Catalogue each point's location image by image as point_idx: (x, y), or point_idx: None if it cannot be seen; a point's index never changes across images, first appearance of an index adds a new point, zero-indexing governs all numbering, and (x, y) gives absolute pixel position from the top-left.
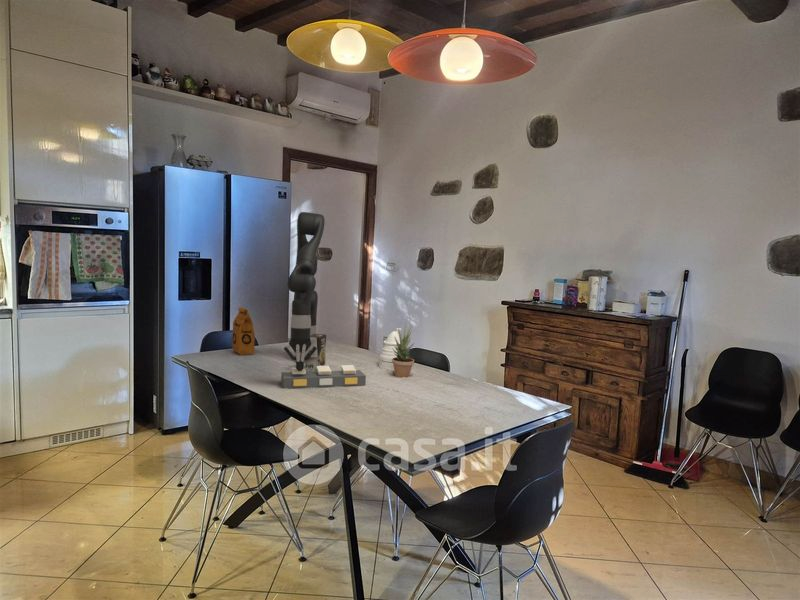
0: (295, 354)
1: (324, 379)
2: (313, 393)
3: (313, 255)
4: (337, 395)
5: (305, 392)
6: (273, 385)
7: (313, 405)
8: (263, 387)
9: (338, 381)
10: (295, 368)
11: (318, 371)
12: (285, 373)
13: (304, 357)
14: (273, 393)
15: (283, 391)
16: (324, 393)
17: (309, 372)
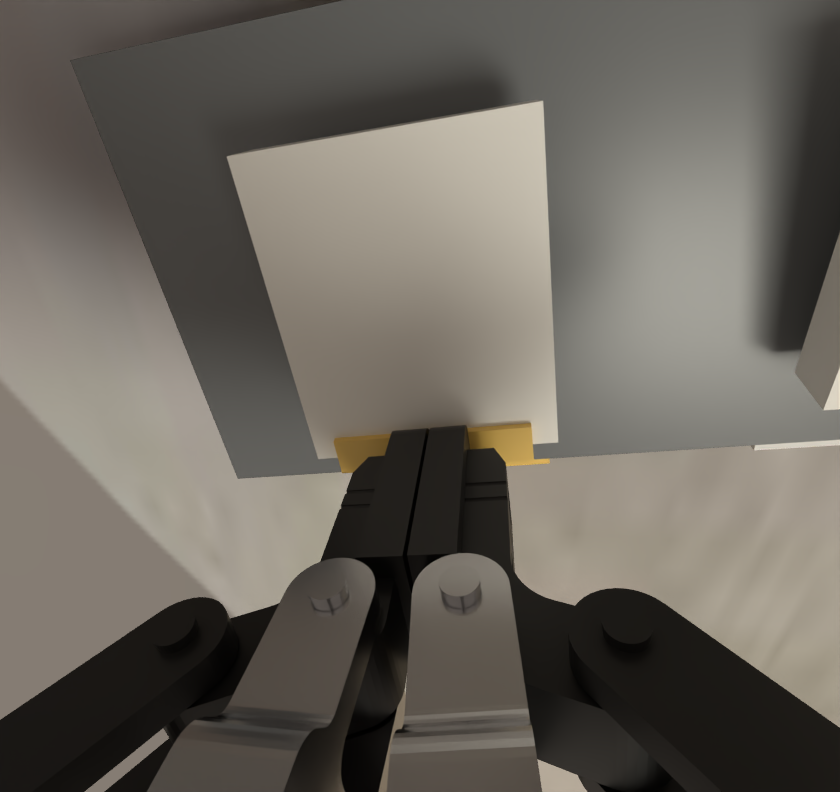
0: (212, 736)
1: (832, 441)
2: (588, 565)
3: None
4: (807, 631)
5: (513, 534)
6: (132, 263)
7: (543, 773)
8: (58, 349)
9: None
10: (340, 240)
11: (829, 381)
12: (179, 175)
13: (541, 758)
14: (224, 540)
15: (299, 492)
16: (699, 573)
17: (673, 59)
